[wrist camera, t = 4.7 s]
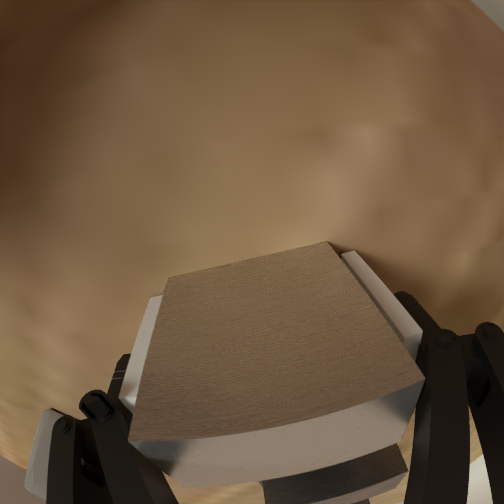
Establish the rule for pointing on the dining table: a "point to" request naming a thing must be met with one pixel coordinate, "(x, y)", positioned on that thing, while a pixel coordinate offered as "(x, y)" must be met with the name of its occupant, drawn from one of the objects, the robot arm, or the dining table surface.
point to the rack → (340, 481)
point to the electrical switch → (41, 455)
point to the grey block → (270, 372)
